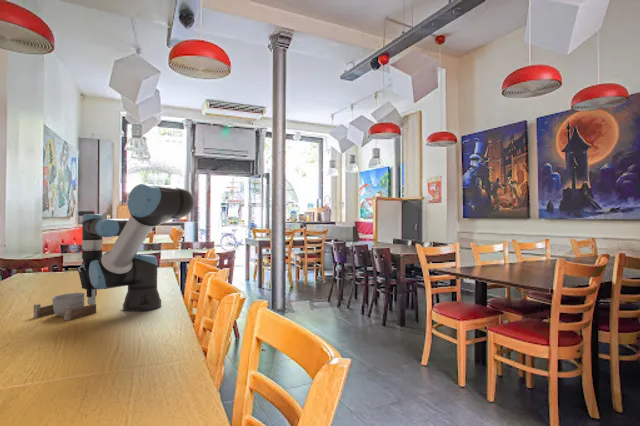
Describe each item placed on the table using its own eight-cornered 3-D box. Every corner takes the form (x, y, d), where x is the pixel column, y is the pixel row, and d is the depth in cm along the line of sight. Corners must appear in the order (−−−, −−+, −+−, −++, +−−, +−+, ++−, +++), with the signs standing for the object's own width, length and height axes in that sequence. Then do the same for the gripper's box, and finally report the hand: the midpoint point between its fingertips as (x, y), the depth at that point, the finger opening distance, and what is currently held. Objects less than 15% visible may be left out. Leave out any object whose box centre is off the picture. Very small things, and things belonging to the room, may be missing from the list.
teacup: (72, 318, 145) (72, 297, 145) (44, 318, 145) (45, 297, 145) (94, 309, 159) (95, 290, 159) (69, 309, 159) (70, 290, 159)
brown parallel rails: (96, 312, 153) (96, 300, 153) (67, 321, 141) (67, 307, 141) (64, 309, 158) (64, 298, 158) (33, 317, 146) (33, 304, 146)
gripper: (98, 248, 169) (97, 300, 169) (71, 250, 156) (70, 307, 156) (111, 248, 167) (110, 301, 166) (85, 251, 154) (84, 308, 154)
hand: (91, 304), depth 161 cm, fingers closed
